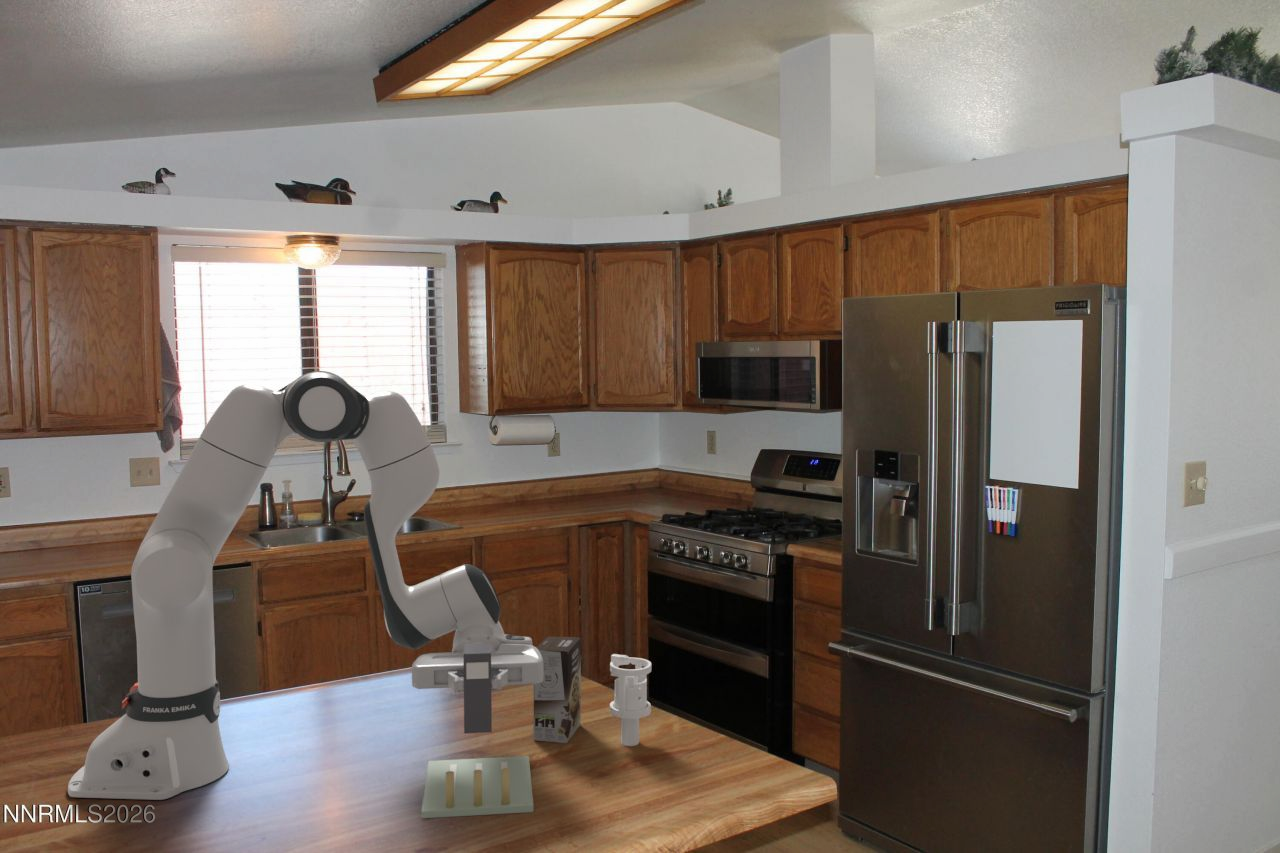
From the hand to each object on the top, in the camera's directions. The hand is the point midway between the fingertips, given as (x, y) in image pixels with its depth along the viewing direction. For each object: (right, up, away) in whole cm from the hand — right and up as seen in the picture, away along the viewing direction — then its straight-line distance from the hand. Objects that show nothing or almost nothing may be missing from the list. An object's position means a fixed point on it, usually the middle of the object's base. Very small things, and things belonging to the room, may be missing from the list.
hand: (477, 686), depth 152 cm
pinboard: (-1, -17, +4) cm, 17 cm away
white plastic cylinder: (+22, -16, +23) cm, 36 cm away
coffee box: (+10, -15, +27) cm, 32 cm away
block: (0, -6, +1) cm, 7 cm away
